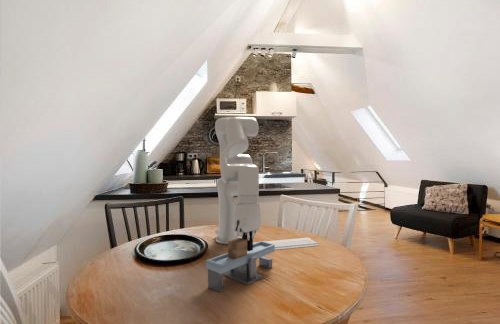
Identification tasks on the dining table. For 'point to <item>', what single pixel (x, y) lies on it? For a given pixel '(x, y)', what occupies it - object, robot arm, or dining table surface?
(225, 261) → the beam
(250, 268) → the stand
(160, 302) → the dining table surface
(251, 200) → the robot arm
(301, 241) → the baseboard molding
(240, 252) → the rider
